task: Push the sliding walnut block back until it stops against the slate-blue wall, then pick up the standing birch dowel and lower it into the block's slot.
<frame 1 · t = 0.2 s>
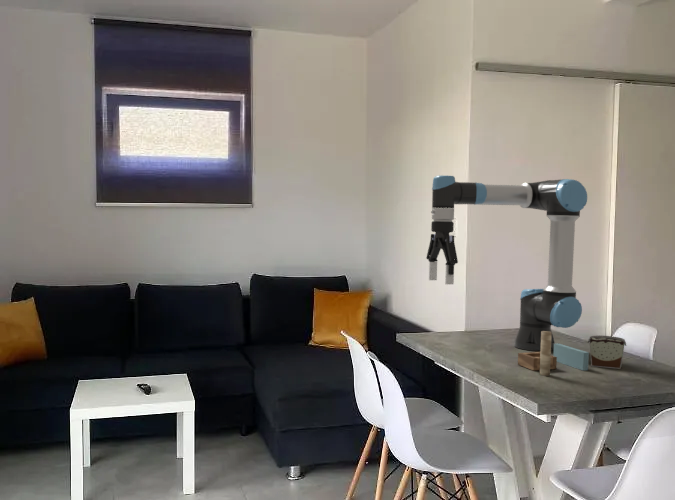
hand: (440, 282, 236), 28 cm above the table, fingers open, 13 cm apart
dowel: (544, 374, 221), on the table
wall: (570, 365, 236), on the table
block: (537, 360, 232), point 2 cm above the table, slide at 0.0 cm
food container: (605, 366, 237), on the table
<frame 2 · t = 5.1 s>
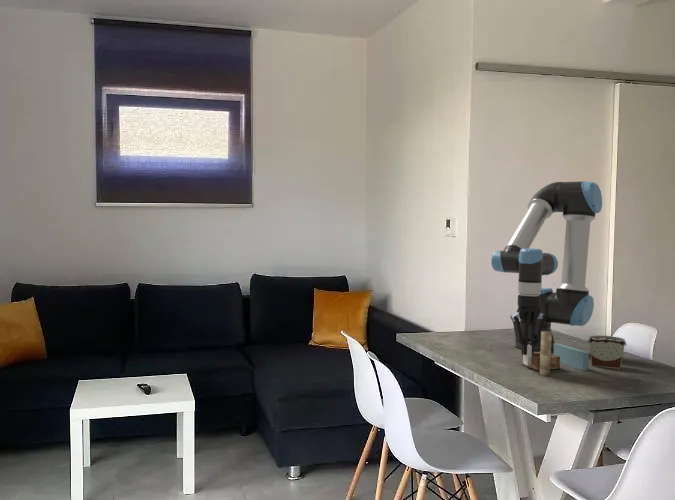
hand: (526, 364, 231), 1 cm above the table, fingers closed
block: (540, 360, 232), point 2 cm above the table, slide at 1.4 cm, touching gripper
everything else where it was.
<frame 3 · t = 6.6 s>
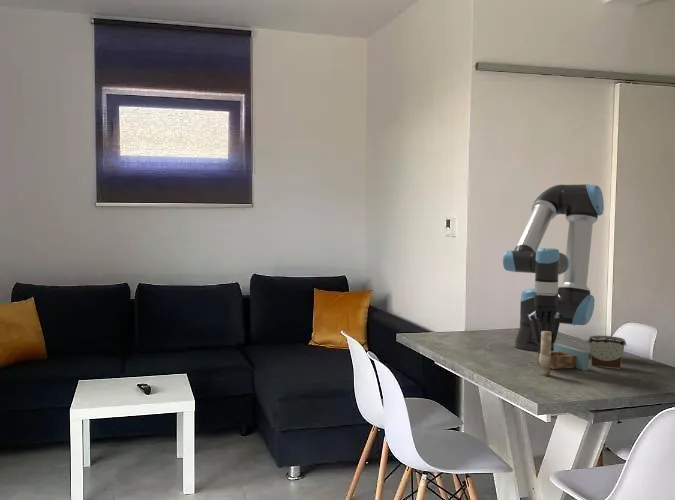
hand: (543, 362, 233), 1 cm above the table, fingers closed
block: (556, 359, 234), point 2 cm above the table, slide at 7.9 cm, touching gripper
everything else where it was.
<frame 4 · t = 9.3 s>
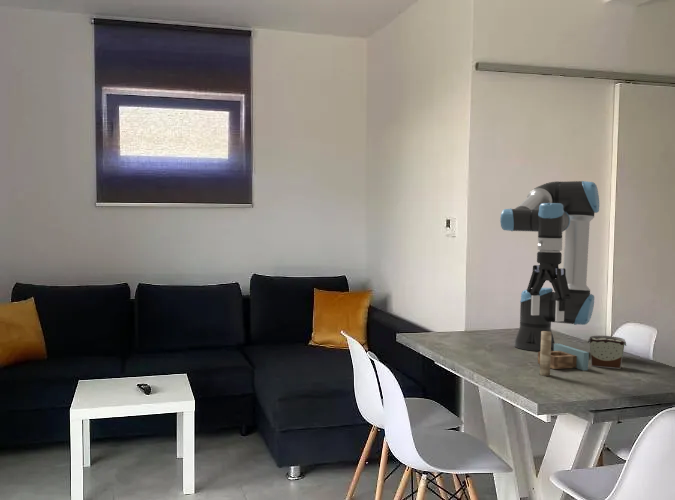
hand: (546, 318, 220), 18 cm above the table, fingers open, 12 cm apart
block: (556, 359, 234), point 2 cm above the table, slide at 8.0 cm, touching wall
everything else where it was.
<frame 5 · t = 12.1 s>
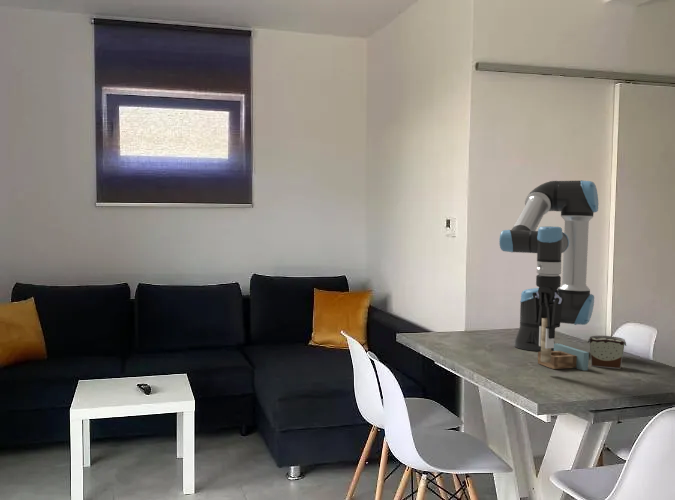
hand: (546, 346, 221), 9 cm above the table, fingers closed on dowel, 3 cm apart
dowel: (545, 361, 221), point 4 cm above the table, touching gripper
everything else where it was.
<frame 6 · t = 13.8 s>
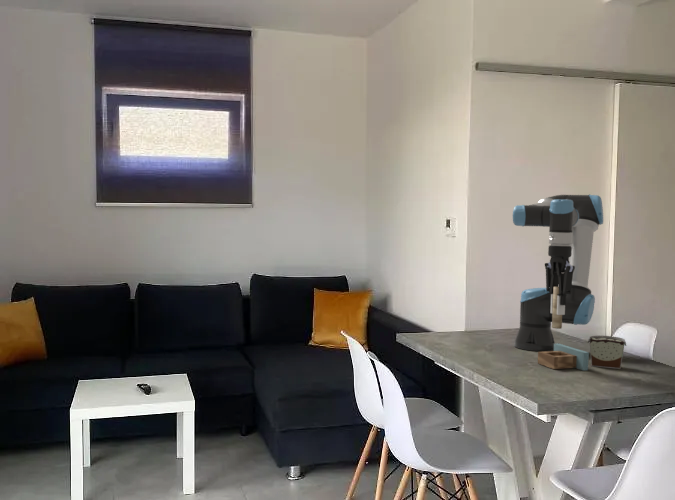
hand: (557, 313, 233), 18 cm above the table, fingers closed on dowel, 3 cm apart
dowel: (556, 327, 233), point 13 cm above the table, touching gripper
everything else where it was.
when the fingers open (5 cm above the table, at t = 16.3 s): dowel stays where it is, resting on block.
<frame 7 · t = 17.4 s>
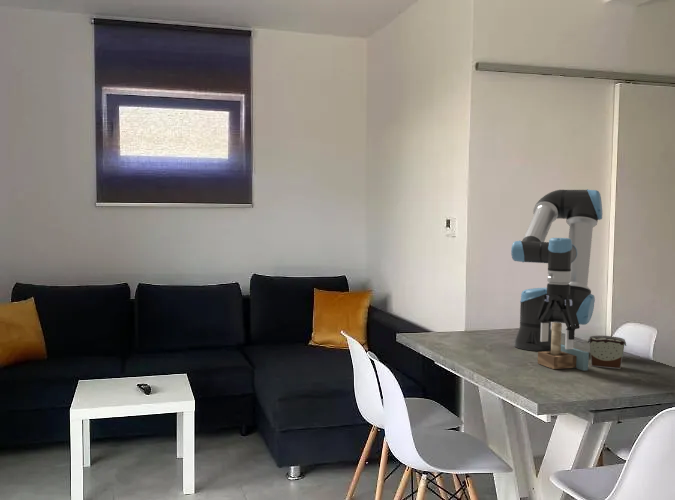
hand: (556, 345, 234), 7 cm above the table, fingers open, 13 cm apart
dowel: (555, 363, 234), point 1 cm above the table, touching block
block: (556, 359, 234), point 2 cm above the table, slide at 7.9 cm, touching dowel
everything else where it was.
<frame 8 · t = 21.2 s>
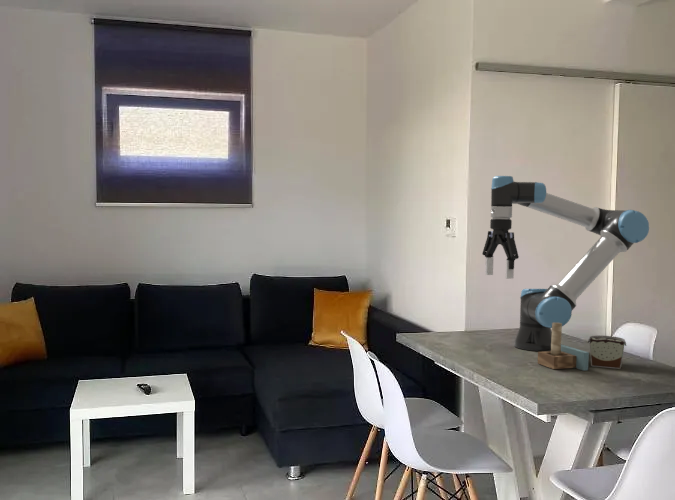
hand: (499, 276, 250), 29 cm above the table, fingers open, 13 cm apart
nothing on the table moved.
at the end: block slide at 7.9 cm; dowel 0.6 cm off-centre on the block, point 0.8 cm above the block's base; dowel tilted 0° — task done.
